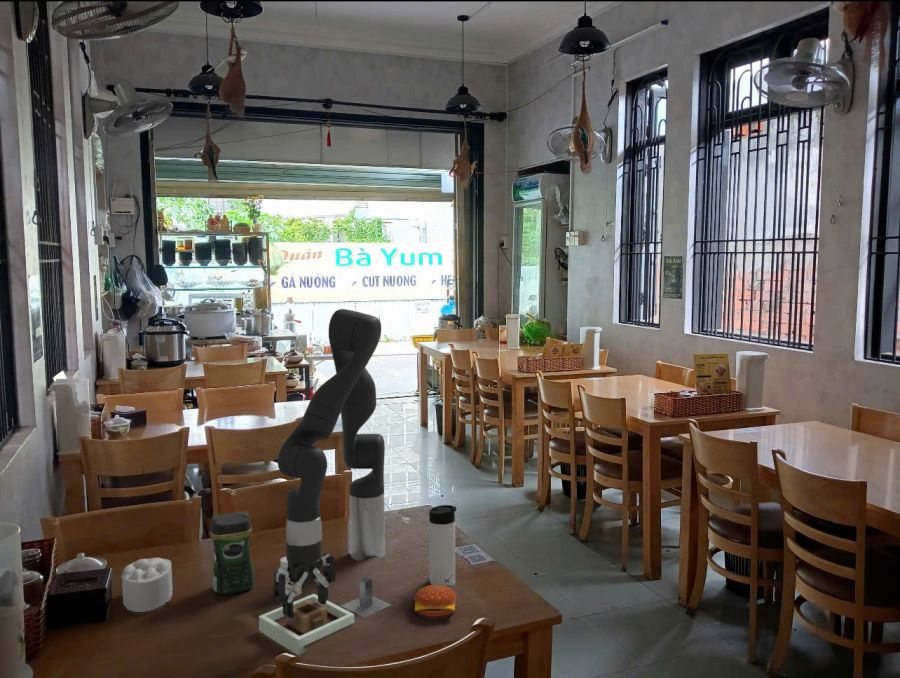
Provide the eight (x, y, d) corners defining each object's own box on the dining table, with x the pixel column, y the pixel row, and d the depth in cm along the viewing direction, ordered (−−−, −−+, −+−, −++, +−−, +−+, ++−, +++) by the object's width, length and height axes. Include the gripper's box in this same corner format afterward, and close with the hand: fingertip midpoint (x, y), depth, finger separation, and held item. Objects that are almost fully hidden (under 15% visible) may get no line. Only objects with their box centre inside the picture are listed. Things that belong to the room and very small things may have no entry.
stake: (341, 612, 162) (340, 580, 161) (368, 599, 168) (367, 569, 167) (364, 623, 157) (363, 591, 156) (391, 611, 163) (390, 579, 162)
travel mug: (453, 593, 171) (453, 512, 169) (426, 591, 173) (426, 510, 170) (458, 582, 177) (458, 503, 175) (432, 579, 179) (432, 501, 177)
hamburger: (458, 626, 156) (457, 597, 155) (413, 627, 155) (413, 598, 155) (456, 605, 165) (455, 578, 164) (414, 607, 165) (413, 579, 164)
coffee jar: (251, 578, 180) (249, 506, 178) (256, 591, 173) (253, 516, 171) (211, 584, 176) (208, 511, 175) (213, 598, 169) (210, 521, 167)
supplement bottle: (306, 595, 170) (305, 556, 169) (294, 605, 165) (292, 564, 164) (286, 592, 172) (285, 553, 171) (273, 602, 167) (272, 561, 166)
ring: (287, 626, 154) (287, 609, 154) (310, 616, 158) (310, 599, 158) (308, 639, 149) (307, 620, 148) (331, 628, 153) (330, 610, 153)
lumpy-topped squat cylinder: (174, 585, 176) (173, 551, 175) (167, 610, 163) (166, 573, 162) (129, 590, 173) (127, 555, 172) (118, 615, 161) (116, 578, 160)
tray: (259, 630, 154) (258, 616, 154) (314, 607, 164) (313, 593, 164) (298, 655, 144) (298, 639, 144) (354, 629, 155) (354, 614, 154)
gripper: (320, 523, 160) (322, 593, 162) (265, 542, 150) (267, 616, 151) (341, 532, 155) (343, 604, 157) (285, 552, 144) (287, 628, 146)
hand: (305, 610), depth 154 cm, fingers open, 8 cm apart
